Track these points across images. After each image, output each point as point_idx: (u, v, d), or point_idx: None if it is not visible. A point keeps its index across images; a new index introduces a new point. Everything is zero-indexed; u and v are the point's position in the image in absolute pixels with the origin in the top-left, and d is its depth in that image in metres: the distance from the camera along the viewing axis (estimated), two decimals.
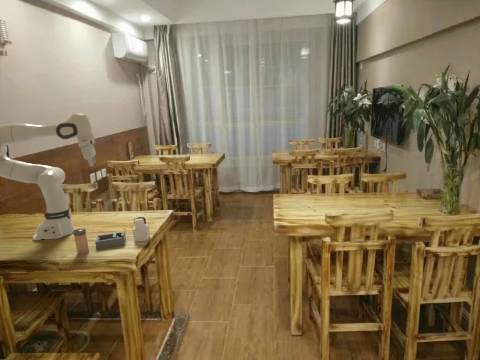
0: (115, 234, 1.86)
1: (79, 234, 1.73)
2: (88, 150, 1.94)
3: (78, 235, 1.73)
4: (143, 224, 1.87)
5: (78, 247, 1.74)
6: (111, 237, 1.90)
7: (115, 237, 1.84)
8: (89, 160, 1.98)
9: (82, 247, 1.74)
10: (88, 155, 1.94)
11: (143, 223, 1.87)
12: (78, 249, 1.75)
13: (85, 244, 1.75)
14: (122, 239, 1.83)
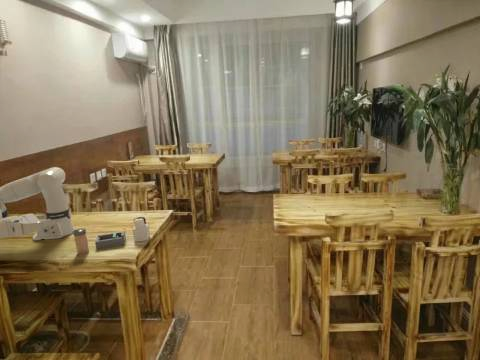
0: (115, 234, 1.86)
1: (79, 234, 1.73)
2: (29, 225, 1.52)
3: (78, 235, 1.73)
4: (143, 224, 1.87)
5: (78, 247, 1.74)
6: (111, 237, 1.90)
7: (115, 237, 1.84)
8: (43, 223, 1.58)
9: (82, 247, 1.74)
10: (36, 225, 1.53)
11: (143, 223, 1.87)
12: (78, 249, 1.75)
13: (85, 244, 1.75)
14: (122, 239, 1.83)
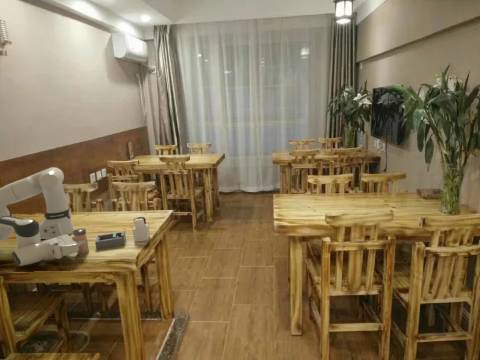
0: (115, 234, 1.86)
1: (79, 234, 1.73)
2: (67, 247, 1.63)
3: (78, 235, 1.73)
4: (143, 224, 1.87)
5: None
6: (111, 237, 1.90)
7: (115, 237, 1.84)
8: (78, 244, 1.71)
9: (82, 247, 1.74)
10: (73, 247, 1.65)
11: (143, 223, 1.87)
12: None
13: (85, 244, 1.75)
14: (122, 239, 1.83)
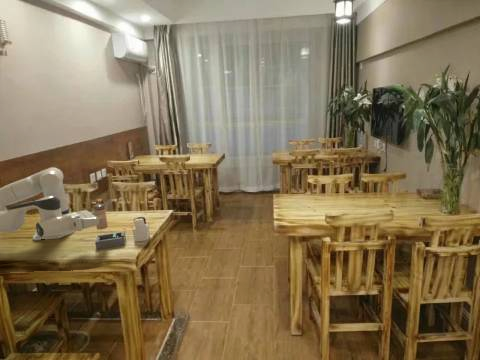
0: (115, 234, 1.86)
1: (99, 209, 1.79)
2: (88, 220, 1.69)
3: (98, 210, 1.79)
4: (143, 224, 1.87)
5: None
6: (111, 237, 1.90)
7: (115, 237, 1.84)
8: (98, 218, 1.76)
9: (101, 222, 1.80)
10: (94, 220, 1.71)
11: (143, 223, 1.87)
12: None
13: (104, 219, 1.81)
14: (122, 239, 1.83)
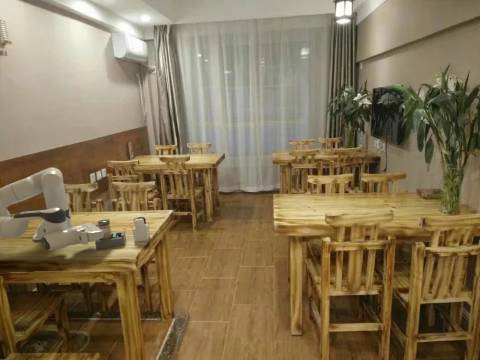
0: (115, 234, 1.86)
1: (104, 224, 1.81)
2: (93, 234, 1.72)
3: (103, 226, 1.81)
4: (143, 224, 1.87)
5: None
6: None
7: (115, 237, 1.84)
8: (103, 231, 1.78)
9: (106, 237, 1.83)
10: (99, 233, 1.73)
11: (143, 223, 1.87)
12: (102, 239, 1.83)
13: (109, 234, 1.84)
14: (122, 239, 1.83)
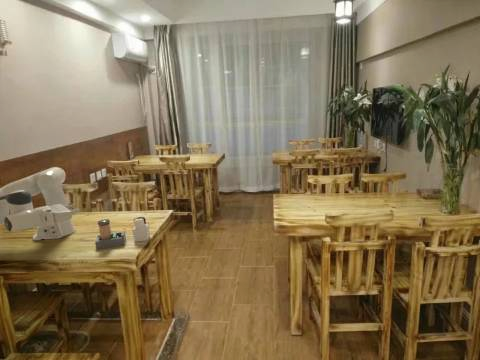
0: (115, 234, 1.86)
1: (103, 224, 1.82)
2: (60, 214, 1.61)
3: (102, 225, 1.82)
4: (143, 224, 1.87)
5: (102, 236, 1.83)
6: None
7: (115, 237, 1.84)
8: (72, 212, 1.67)
9: (106, 237, 1.83)
10: (67, 214, 1.62)
11: (143, 223, 1.87)
12: (102, 239, 1.83)
13: (109, 234, 1.84)
14: (122, 239, 1.83)
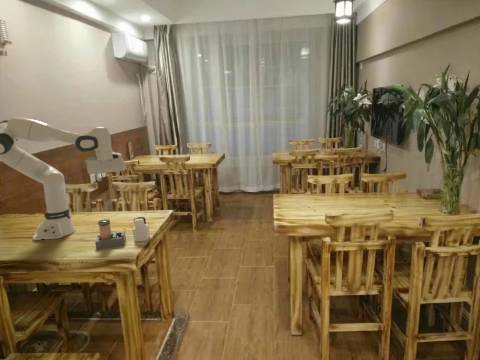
0: (115, 234, 1.86)
1: (104, 224, 1.81)
2: None
3: (103, 226, 1.81)
4: (143, 224, 1.87)
5: (102, 236, 1.83)
6: None
7: (115, 237, 1.84)
8: (119, 172, 1.98)
9: (106, 237, 1.83)
10: (125, 166, 1.99)
11: (143, 223, 1.87)
12: (102, 239, 1.83)
13: (109, 234, 1.84)
14: (122, 239, 1.83)
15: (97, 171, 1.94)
